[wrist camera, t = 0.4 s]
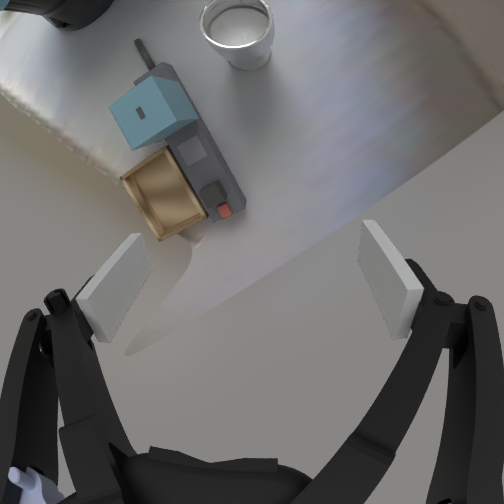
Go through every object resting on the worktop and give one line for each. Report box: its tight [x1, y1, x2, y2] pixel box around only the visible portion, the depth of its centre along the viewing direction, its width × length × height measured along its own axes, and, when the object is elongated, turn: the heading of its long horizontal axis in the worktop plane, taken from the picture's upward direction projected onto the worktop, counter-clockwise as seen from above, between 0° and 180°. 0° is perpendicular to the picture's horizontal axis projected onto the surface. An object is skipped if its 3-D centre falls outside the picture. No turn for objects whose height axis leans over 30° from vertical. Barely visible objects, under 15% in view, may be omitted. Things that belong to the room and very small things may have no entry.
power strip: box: [134, 39, 246, 223], centre depth 33 cm, size 32×5×6 cm, turn 27°
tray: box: [120, 145, 209, 242], centre depth 40 cm, size 12×9×4 cm
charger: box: [109, 75, 199, 150], centre depth 29 cm, size 6×6×12 cm
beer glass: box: [199, 0, 275, 71], centre depth 24 cm, size 7×7×15 cm
